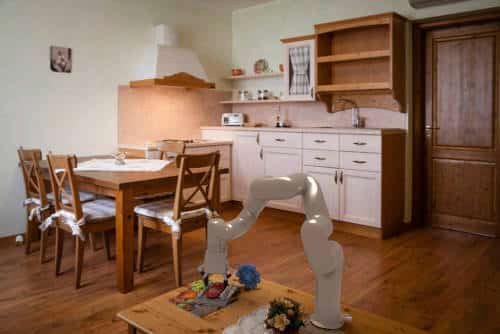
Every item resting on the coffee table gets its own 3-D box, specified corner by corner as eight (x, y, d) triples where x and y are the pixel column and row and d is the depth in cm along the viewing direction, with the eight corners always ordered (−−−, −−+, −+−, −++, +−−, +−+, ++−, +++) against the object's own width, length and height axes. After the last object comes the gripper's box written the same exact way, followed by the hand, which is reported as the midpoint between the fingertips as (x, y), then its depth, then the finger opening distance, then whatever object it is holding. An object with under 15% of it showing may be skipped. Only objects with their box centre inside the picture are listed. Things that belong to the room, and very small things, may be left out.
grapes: (233, 291, 194) (234, 265, 193) (235, 285, 201) (236, 260, 199) (259, 293, 193) (260, 266, 191) (261, 286, 199) (261, 261, 198)
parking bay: (237, 287, 198) (237, 282, 198) (224, 307, 178) (224, 301, 178) (207, 284, 201) (207, 279, 201) (192, 303, 181) (192, 298, 180)
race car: (216, 300, 182) (216, 291, 182) (204, 298, 184) (204, 289, 183) (227, 288, 195) (227, 279, 194) (215, 286, 196) (215, 278, 196)
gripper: (237, 246, 189) (237, 285, 191) (199, 243, 192) (199, 281, 194) (233, 252, 181) (233, 292, 184) (193, 248, 185) (193, 288, 187)
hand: (215, 286), depth 189 cm, fingers open, 7 cm apart
